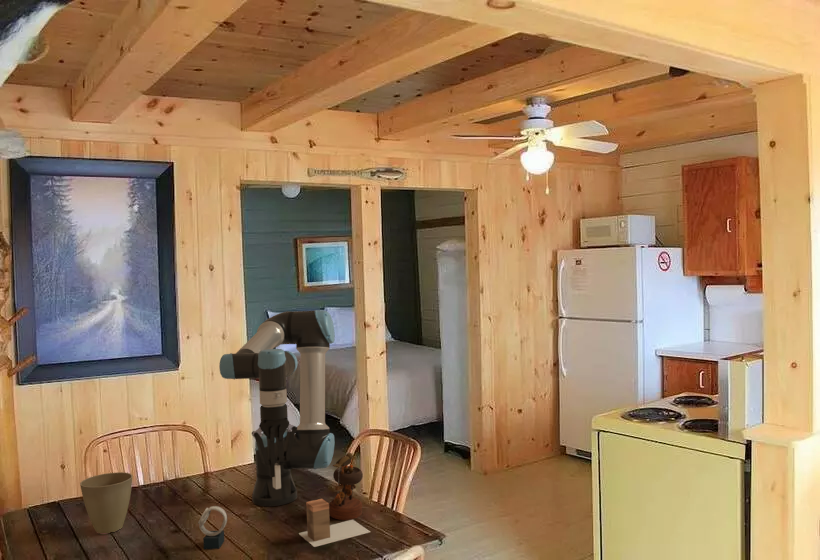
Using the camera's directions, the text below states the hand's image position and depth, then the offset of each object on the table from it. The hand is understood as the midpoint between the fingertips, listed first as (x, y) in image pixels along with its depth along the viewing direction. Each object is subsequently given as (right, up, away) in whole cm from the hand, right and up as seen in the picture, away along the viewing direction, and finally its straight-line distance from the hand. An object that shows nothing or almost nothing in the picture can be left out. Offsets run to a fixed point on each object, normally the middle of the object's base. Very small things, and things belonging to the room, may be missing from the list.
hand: (276, 487), depth 193 cm
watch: (-19, -18, +4) cm, 27 cm away
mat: (+15, -17, +10) cm, 24 cm away
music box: (+18, -16, +25) cm, 35 cm away
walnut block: (+11, -17, +7) cm, 21 cm away
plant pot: (-56, -19, +19) cm, 62 cm away
